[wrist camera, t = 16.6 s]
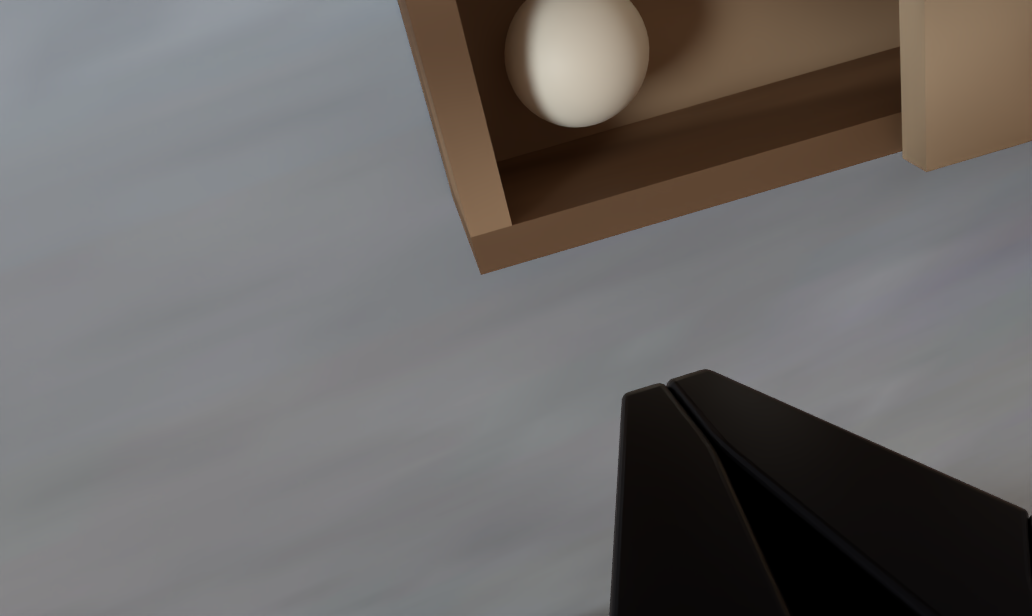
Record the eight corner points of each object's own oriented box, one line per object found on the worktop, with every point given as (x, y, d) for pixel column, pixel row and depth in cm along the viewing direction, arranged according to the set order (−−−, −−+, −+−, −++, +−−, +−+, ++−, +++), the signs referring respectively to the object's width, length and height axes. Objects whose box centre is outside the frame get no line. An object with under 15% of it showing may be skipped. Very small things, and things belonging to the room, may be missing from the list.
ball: (635, 85, 20) (678, 122, 18) (510, 121, 20) (537, 163, 18) (612, -49, 19) (657, -29, 17) (478, -12, 19) (503, 14, 16)
